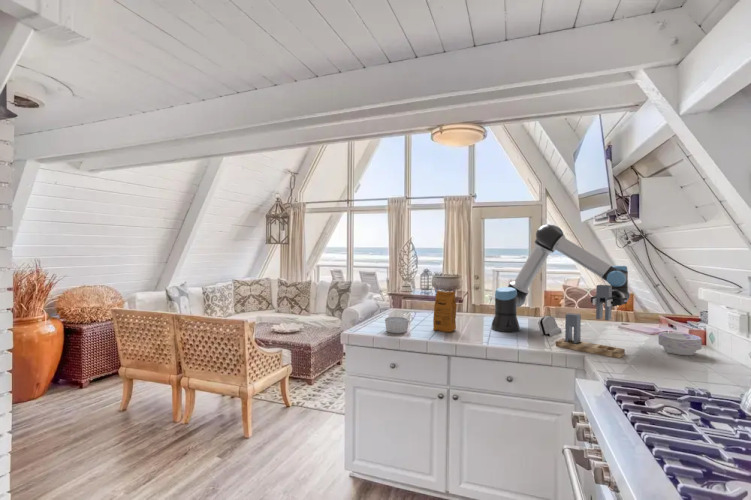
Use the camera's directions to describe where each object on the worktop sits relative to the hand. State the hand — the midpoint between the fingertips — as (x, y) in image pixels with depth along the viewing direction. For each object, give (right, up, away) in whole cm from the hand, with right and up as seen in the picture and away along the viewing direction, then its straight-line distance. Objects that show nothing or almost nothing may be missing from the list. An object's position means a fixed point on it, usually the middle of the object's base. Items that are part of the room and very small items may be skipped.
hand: (600, 302), depth 171 cm
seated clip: (-9, -22, +7) cm, 25 cm away
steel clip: (+4, -8, +4) cm, 10 cm away
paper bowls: (+35, -23, -1) cm, 41 cm away
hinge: (-6, -22, +37) cm, 44 cm away
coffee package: (-63, -21, +41) cm, 78 cm away
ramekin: (-90, -21, +38) cm, 100 cm away
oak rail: (-4, -22, +2) cm, 22 cm away
